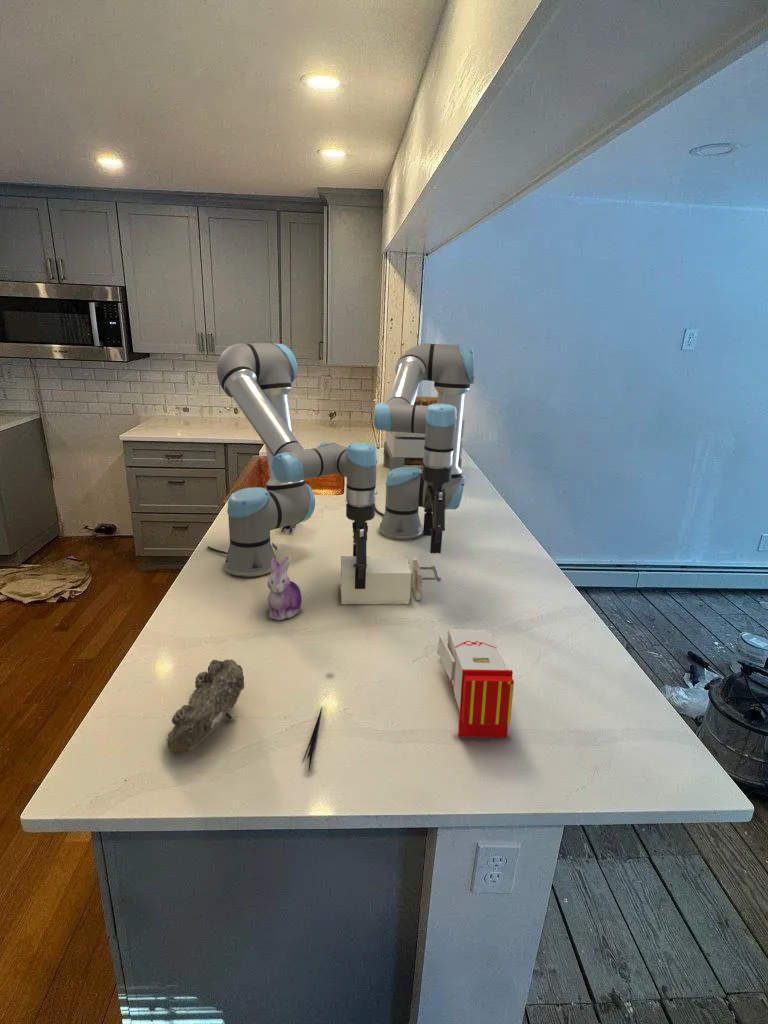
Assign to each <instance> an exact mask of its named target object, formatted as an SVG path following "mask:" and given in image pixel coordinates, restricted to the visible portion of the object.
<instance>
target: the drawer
mask: <svg viewBox="0 0 768 1024" xmlns="http://www.w3.org/2000/svg"><path fill="white" fill-rule="evenodd" d="M408 564H409V565H410V562H409V561H408ZM423 570H425V571H428V570H429V571H430V570H432V573H433V576H432V577H431V576H424V577H423V573H422V571H423ZM423 581H436V582H438V583H439V582H441V581H442V578H441V575H440V573H439V570H438V569H437V566H436V565H432V566H420V565H419V562H418V559H412V569H411V587H410V598H412V590H413V595H414V597H415V600H416V601H420V600H421V599H422V585H423Z"/></svg>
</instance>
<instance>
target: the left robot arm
mask: <svg viewBox="0 0 768 1024" xmlns="http://www.w3.org/2000/svg"><path fill="white" fill-rule="evenodd" d="M297 374H298V362H297V359H296V356H295V355H294V353H293V351H292V350H291V349H290V348H289V347H288V346H287V345H285V344H283V343H275V342H258V343H257V342H253V343H244V342H243V343H235V344H231V345H229V346H228V347H227V348H225V350H223V351H222V353H221V354H220V356H219V358H218V361H217V364H216V376H217V380H218V384H219V385H220V387H221V389H222V390H223V392H224V393H225V394H226V395H227V397H230V398H233V400H234V401H235V403H236V404H237V406H238V407H239V409H240V410H241V411H242V413H243V414H244V416H245V418H246V419H247V420H248V421H249V423H250V425H251V426H252V427H253V430H254V431H255V432H256V434H257V435H258V436H259V438H260V440H261V441H262V443H263V444H264V446H265V452H266V453H265V454H266V459H267V467H268V472H269V479H268V480H267V482H266V483H265V486H266V488H264V487H260V486H254V487H246V488H241V489H239V490H237V491H234V492H233V493H232V494H231V495H230V496H229V498H228V501H227V511H226V512H227V517H228V519H227V520H228V533H229V534H228V536H229V545H228V549H227V551H224V550H220V549H217V548H214V547H211V546H209V545H208V546H206V548H207V550H210V551H212V552H215V553H218V554H222V555H226V556H225V559H224V570H225V571H226V573H228V574H229V575H231V576H234V577H239V578H258V577H262V576H265V575H268V574H271V561H272V559H273V558H276V559H277V556H276V554H275V551H278V546H277V545H276V544H275V543H273V542H271V531H273V530H278V529H282V528H283V527H285V526H289V525H293V524H296V525H299V524H301V523H303V522H306V521H308V520H309V519H310V518H311V517H312V515H313V514H314V511H315V508H316V496H315V493H314V491H313V488H312V487H311V486H310V485H309V484H307V483H306V482H305V481H306V480H310V479H315V478H321V477H325V476H330V475H339V476H342V477H344V478H346V489H345V496H346V497H345V501H346V503H345V516H346V518H347V519H348V520H350V521H352V523H351V525H352V533H353V535H352V556H356V564H353V567H355V589H365V583H366V567H367V564H366V556H367V542H368V532H369V525H368V521H372V520H373V519H375V515H376V511H375V507H376V504H375V503H376V495H378V494H379V491H378V490H376V487H377V486H376V485H377V468H378V467H377V465H378V455H377V453H378V452H377V447H376V446H375V444H372V443H369V442H352V443H349V444H348V445H347V446H345V445H341V444H339V443H337V442H327V441H325V442H321V443H320V444H319V445H318V446H317V447H313V448H307V449H305V448H304V447H303V445H302V444H301V443H300V442H299V441H298V439H297V437H296V436H295V435H294V432H293V431H294V430H293V423H292V416H291V409H290V402H289V393H290V392H291V391H292V389H293V386H292V383H293V382H294V381H296V379H297Z"/></svg>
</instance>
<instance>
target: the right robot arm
mask: <svg viewBox="0 0 768 1024" xmlns="http://www.w3.org/2000/svg"><path fill="white" fill-rule="evenodd" d="M474 352H475V351H474V349H473V347H471V346H469V345H463V344H443V343H421V344H418V345H415V346H413V347H411V348H409V349H408V350H407V351H405V352H404V353H403V354H401V356H400V357H399V358H398V360H397V362H396V365H395V369H394V371H395V372H394V374H395V378H394V380H393V383H392V385H391V388H390V392H389V394H388V397H387V399H386V401H384V402H378V403H376V405H375V407H374V413H373V424H374V428H375V429H376V430H377V431H382V432H386V431H388V432H406V433H419V434H425V445H424V453H423V463H424V464H425V465H424V466H422V469H421V468H420V467H419V466H418V467H417V466H404V467H400V468H396V469H393V470H391V471H390V470H389V471H388V473H387V475H386V482H385V504H384V505H385V507H384V508H385V509H384V512H381V511H379V510H378V509H377V508H376V506H375V513H377V515H378V514H379V515H380V516H381V517H382V519H381V522H379V526H378V533H379V534H380V535H381V536H382V537H385V538H387V539H389V540H395V541H410V540H415V539H418V538H420V537H421V536H423V537H430V546H429V554H441V552H442V542H443V532H445V530H446V510H457V509H458V508H460V504H461V501H462V498H463V493H464V488H465V483H466V477H465V476H464V475H463V474H462V473H463V471H462V468H461V469H460V468H459V467H458V459H459V448H460V439H461V438H460V437H461V426H462V419H463V414H464V403H465V394H466V393H467V392H468V391H470V388H471V385H472V384H475V382H476V381H475V379H476V377H475V353H474ZM422 381H428V382H433V388H434V389H435V391H436V392H437V397H438V400H437V404H431V405H429V406H422V405H414V402H415V398H416V397H417V394H418V391H419V387H420V383H421V382H422ZM419 508H423V512H424V515H423V525H422V524H421V518H420V515H419Z"/></svg>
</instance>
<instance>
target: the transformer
mask: <svg viewBox="0 0 768 1024" xmlns="http://www.w3.org/2000/svg"><path fill="white" fill-rule="evenodd" d="M437 400H438V396H417V395H416V398H415V402H414V405H422V406H429V405H431V404H437ZM464 429H465V419H464V418H462V426H461V437H460V448H459V459H458V467H459V468H460V469H461V470H462V461H463V460H462V453H463V442H464V441H463V440H462V439H463V438H464V431H465V430H464ZM424 445H425V434H419V433H406V432H388V431H385V438H384V442H383V466H384V467H388V468H389V472H390V471H391V470H393V469H396V468H400V467H405V466H406V467H417V466H418V467H423V466H424V465H425V464H424V463H423V453H424Z"/></svg>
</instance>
